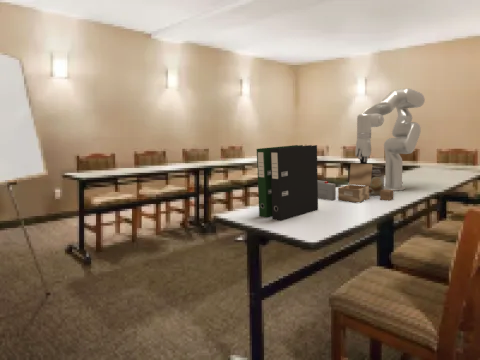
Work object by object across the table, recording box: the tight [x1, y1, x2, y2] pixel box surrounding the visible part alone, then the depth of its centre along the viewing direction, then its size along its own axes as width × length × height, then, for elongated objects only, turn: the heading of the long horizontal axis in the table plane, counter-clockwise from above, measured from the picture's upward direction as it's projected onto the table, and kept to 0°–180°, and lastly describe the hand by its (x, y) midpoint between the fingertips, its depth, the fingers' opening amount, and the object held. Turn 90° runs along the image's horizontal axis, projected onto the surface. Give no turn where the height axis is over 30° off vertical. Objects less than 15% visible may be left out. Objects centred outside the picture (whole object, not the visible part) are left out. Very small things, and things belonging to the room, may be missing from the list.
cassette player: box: [318, 180, 337, 201], centre depth 203 cm, size 16×3×10 cm, turn 33°
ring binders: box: [256, 144, 319, 222], centre depth 170 cm, size 27×15×32 cm, turn 129°
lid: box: [348, 162, 373, 186], centre depth 199 cm, size 12×12×1 cm
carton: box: [337, 184, 370, 203], centre depth 195 cm, size 12×12×7 cm
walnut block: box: [379, 189, 394, 202], centre depth 192 cm, size 5×5×5 cm
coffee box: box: [369, 166, 385, 197], centre depth 205 cm, size 9×6×16 cm
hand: (363, 168), depth 201 cm, fingers closed
